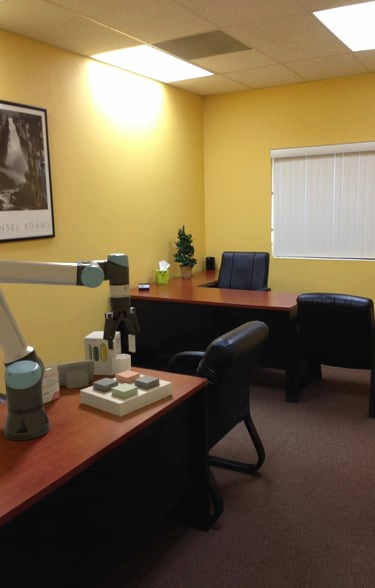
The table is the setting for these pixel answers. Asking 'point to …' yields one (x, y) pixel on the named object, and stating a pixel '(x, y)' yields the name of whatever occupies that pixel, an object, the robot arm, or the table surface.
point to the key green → (124, 390)
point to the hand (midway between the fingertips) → (122, 354)
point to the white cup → (122, 363)
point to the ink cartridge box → (50, 383)
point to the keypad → (126, 405)
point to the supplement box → (101, 352)
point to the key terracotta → (127, 376)
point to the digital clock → (76, 373)
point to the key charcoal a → (105, 384)
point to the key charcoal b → (146, 382)
